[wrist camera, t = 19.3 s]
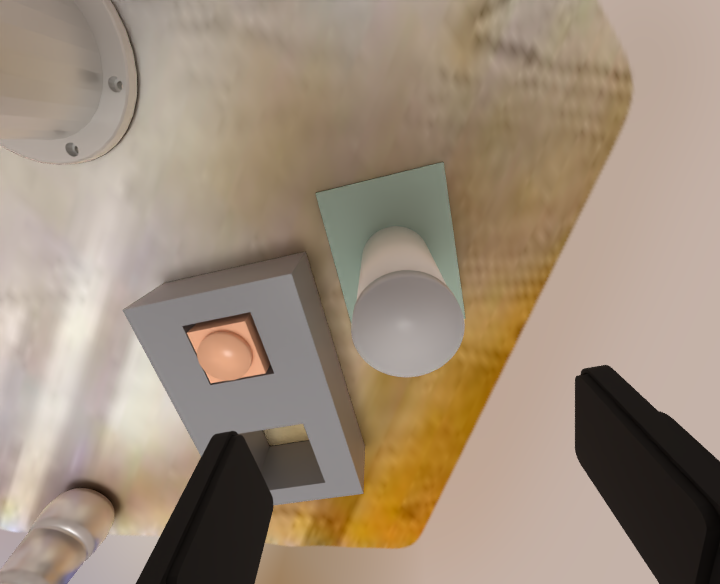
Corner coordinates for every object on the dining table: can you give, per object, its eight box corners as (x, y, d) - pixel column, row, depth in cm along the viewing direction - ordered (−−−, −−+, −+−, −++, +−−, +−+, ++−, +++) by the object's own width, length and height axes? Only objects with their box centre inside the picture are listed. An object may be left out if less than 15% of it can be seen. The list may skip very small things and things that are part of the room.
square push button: (217, 302, 29) (182, 337, 23) (266, 292, 28) (241, 325, 23) (236, 346, 30) (207, 388, 25) (282, 337, 30) (263, 378, 24)
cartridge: (353, 233, 26) (339, 290, 16) (424, 217, 25) (457, 266, 15) (368, 297, 28) (364, 384, 18) (435, 284, 27) (470, 367, 17)
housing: (163, 283, 28) (122, 310, 24) (305, 251, 27) (291, 273, 22) (249, 463, 36) (230, 510, 31) (364, 446, 34) (363, 493, 30)
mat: (316, 192, 25) (315, 193, 25) (442, 161, 24) (443, 162, 24) (355, 336, 30) (355, 339, 29) (464, 316, 29) (465, 318, 28)
